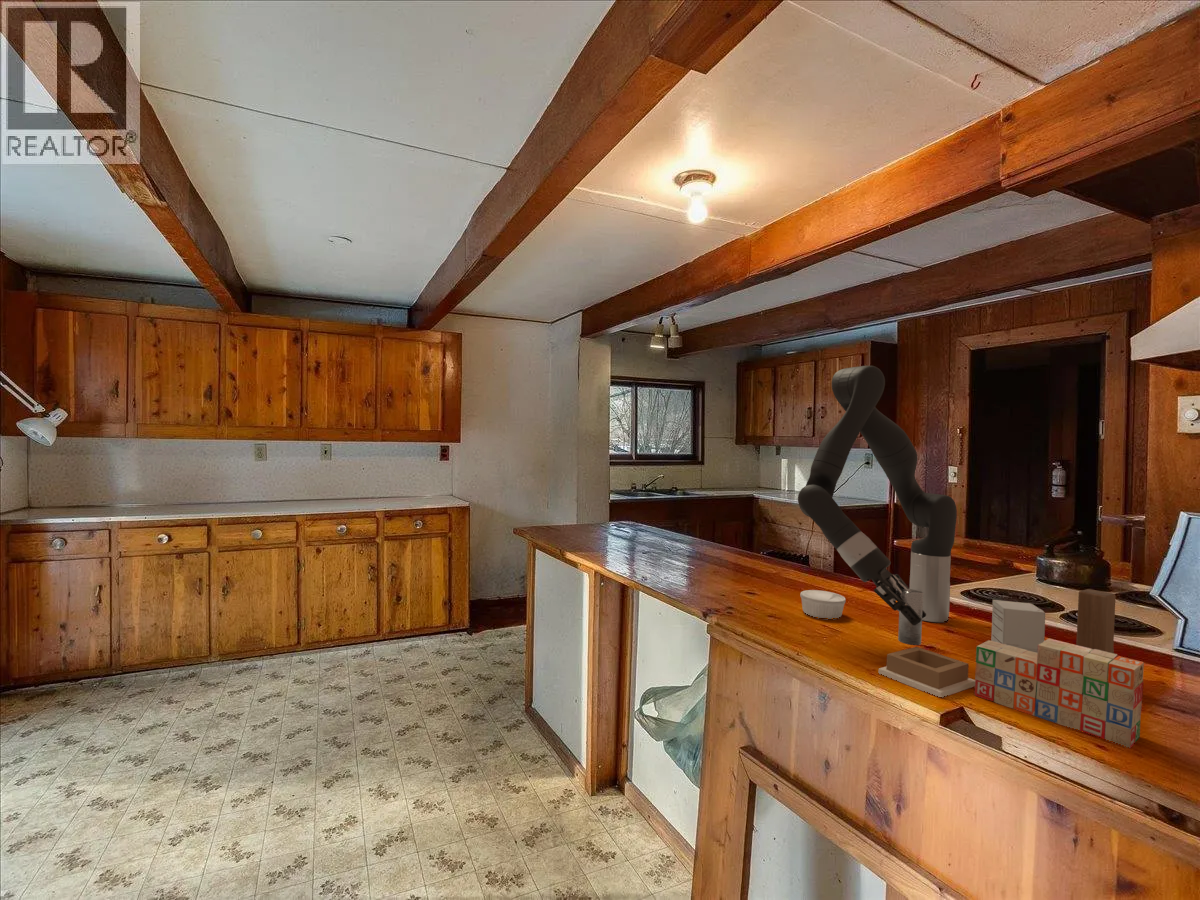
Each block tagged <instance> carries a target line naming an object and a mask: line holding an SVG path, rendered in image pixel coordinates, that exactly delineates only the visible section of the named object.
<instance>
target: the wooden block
mask: <svg viewBox="0 0 1200 900" xmlns="http://www.w3.org/2000/svg"><path fill="white" fill-rule="evenodd" d="M1116 596H1117V595H1116V594H1115V593H1113V592H1107V591H1101V590H1095V589H1091V588H1087V589H1086V588H1085V589H1084V590H1079V591H1078V596H1077V597H1078V601H1077V602H1078V603H1077V622H1076V623H1077V625H1076V644H1075V645H1078V646H1082V647H1086V648H1091V649H1097V650H1101V651H1105V652H1109V653H1113V654H1115V651H1114V641H1115V640H1114V639H1115V638H1114V637H1115V622H1116V621H1115V620H1116V619H1115V617H1116V598H1117V597H1116Z"/></svg>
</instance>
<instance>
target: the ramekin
mask: <svg viewBox="0 0 1200 900" xmlns="http://www.w3.org/2000/svg"><path fill="white" fill-rule="evenodd" d="M799 596H800V598H801V606H802V611H803V613H804V614H805V613H806V614H805V615H807V614H808V615H810V616H809V617H811V616H813V617H812V618H814V617H818V618H817V619H819V618H828V619H832V618H838V619H840V618H841V617H842V615H843V611H844V607H845V604H846V597H845V596H844V595H841V594H839V593H835V592H831V591H826V590H818V589H808V590H803V591H801V592H800V595H799ZM808 615H807V616H808ZM839 617H840V618H839ZM828 619H827V620H828Z"/></svg>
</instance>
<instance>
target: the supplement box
mask: <svg viewBox="0 0 1200 900" xmlns="http://www.w3.org/2000/svg"><path fill="white" fill-rule="evenodd" d="M991 612H992V616H991V637H990V638H991V641H994V642H998V643H1002V644H1006V645H1010V646H1014V647H1017V648H1021V649H1025V650H1028V651H1032V652H1036V653H1038V645H1039V644H1041V643H1043V642H1044V641H1045V634H1046V633H1045V631H1046V612H1045V611H1044V610H1043V609H1041V608H1040V607H1037V606H1036V605H1034V604H1033V603H1031V602H1030V603H1029V602H1020V601H1019V602H1018V601H1010V600H1009V601H1008V600H1000V599H999V600H998V599H992V611H991Z"/></svg>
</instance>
